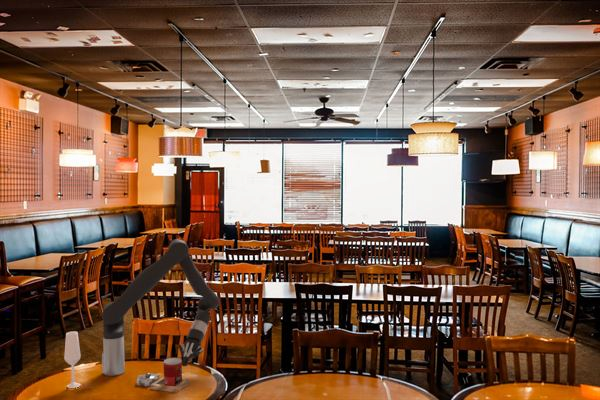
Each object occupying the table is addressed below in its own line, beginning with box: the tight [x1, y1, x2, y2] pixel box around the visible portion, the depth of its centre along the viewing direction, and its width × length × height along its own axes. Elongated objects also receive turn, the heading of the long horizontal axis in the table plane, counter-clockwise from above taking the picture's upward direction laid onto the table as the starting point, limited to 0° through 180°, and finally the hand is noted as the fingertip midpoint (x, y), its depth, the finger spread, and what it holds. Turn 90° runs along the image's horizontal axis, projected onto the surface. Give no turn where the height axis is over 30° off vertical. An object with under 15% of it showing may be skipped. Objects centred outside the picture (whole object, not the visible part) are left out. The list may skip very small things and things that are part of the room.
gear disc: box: [136, 372, 160, 388], centre depth 243 cm, size 10×10×4 cm
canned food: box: [163, 357, 183, 387], centre depth 239 cm, size 8×8×11 cm
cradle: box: [149, 376, 190, 393], centre depth 238 cm, size 13×10×2 cm
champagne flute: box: [63, 330, 82, 389], centre depth 238 cm, size 7×7×24 cm
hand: (184, 365), depth 248 cm, fingers closed
